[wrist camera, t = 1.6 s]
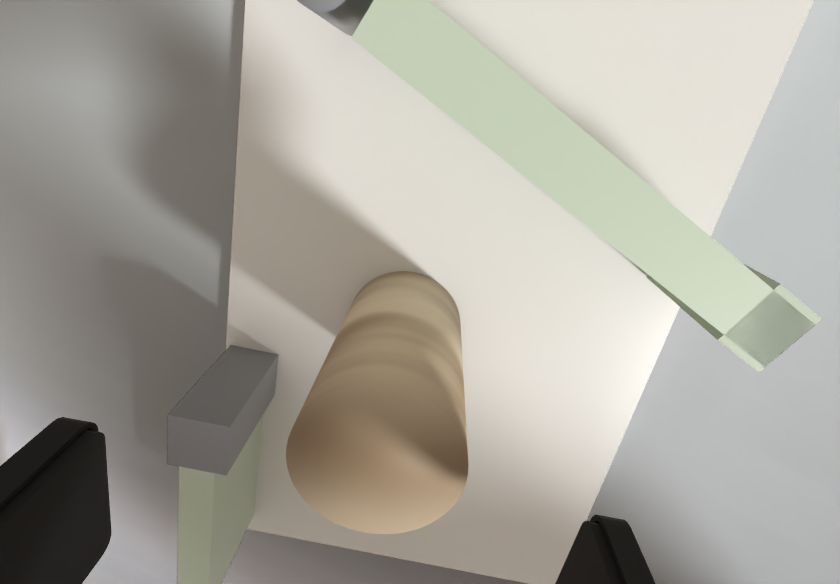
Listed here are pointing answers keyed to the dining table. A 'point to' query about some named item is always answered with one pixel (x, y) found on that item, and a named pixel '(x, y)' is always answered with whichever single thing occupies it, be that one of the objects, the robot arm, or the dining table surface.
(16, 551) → the robot arm
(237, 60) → the dining table surface
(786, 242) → the dining table surface
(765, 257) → the dining table surface
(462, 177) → the gate frame
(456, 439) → the roller
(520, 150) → the gate
